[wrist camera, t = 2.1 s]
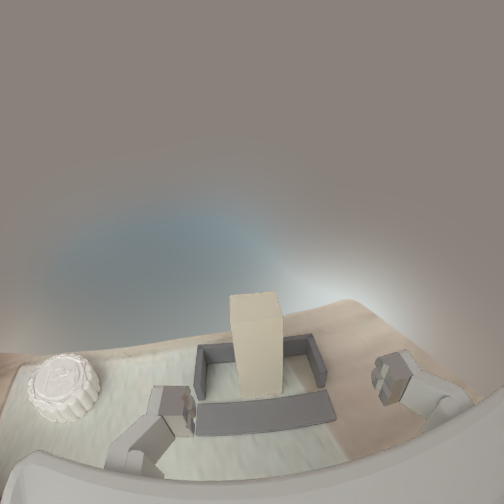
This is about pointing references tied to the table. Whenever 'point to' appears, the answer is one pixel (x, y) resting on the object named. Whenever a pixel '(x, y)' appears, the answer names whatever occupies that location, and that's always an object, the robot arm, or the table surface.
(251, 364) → the beige rectangular block
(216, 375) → the table surface
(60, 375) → the mooncake
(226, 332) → the table surface
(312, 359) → the grey open frame
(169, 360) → the table surface
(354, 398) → the table surface
